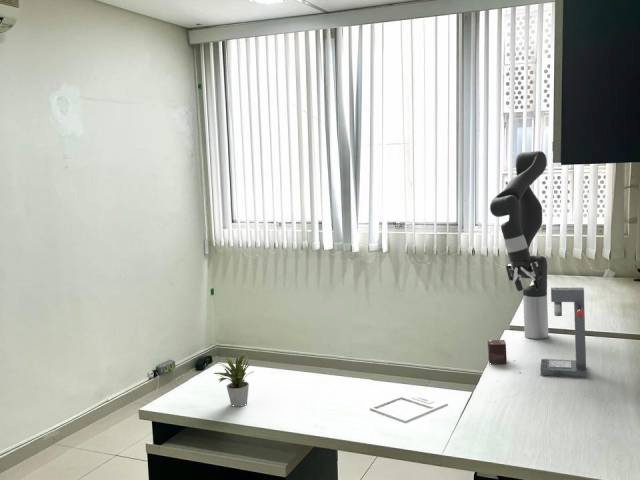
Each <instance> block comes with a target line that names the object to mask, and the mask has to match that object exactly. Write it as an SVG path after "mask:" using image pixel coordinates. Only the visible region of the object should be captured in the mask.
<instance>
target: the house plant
mask: <svg viewBox="0 0 640 480" xmlns="http://www.w3.org/2000/svg"><path fill="white" fill-rule="evenodd" d="M245 354H246V351H244V352H243V353H242V354H241V356H239V355H237V356H236V359H235V365H234V363H233V361H232V360H231V359H229V358H227V357H226V356H224V355H222V358H224V359H225V360H226V362H227V364H228V366H229V367H228V366H226V365H225V364H223V363H221V362H220V363H219V362H217V364H218V365H219V366H221V367H222V366H223V367H224V368H223V369H224V371H225V372H213V374H214V375H219V376H220V378H219V379H218V381H219V382H218V383H219V384H220V383H221V382H223V381H225V380H226V381H229V383H228V384H227V385H226V389H227V394H228V398H229V402H230V406H231V405H234V406H241V405H245V404H246V405H247V404H248V400H249V399H248V398H249V386H250V385H249V381H246V377H247V376H248V375H250V374H252V373H253V371H251V372H249V373H247V374H246V371H247V369H248V368H249V367H250V365H251V364H252V361H251V362H250V363H249V360H250V357H249V358H248V355H246V356H245ZM247 358H248V359H247ZM248 363H249V364H248ZM246 405H245V406H246ZM241 407H242V406H241Z"/></svg>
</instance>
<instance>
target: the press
mask: <svg viewBox="0 0 640 480" xmlns="http://www.w3.org/2000/svg"><path fill="white" fill-rule="evenodd" d="M550 295H551V296H550V299H551V303H553V308H554V310H553V311H554V312H553V313H554V316H555V317H563V303H573V306H574V308H573V310H574V340H575V341H574V342H575V346H574V348H575V359H574V360H571V359H552V358H551V359H549V358H541V360H540V361H541V362H540V369H539V370H540V376H544V377H563V378H565V377H567V378H582V379H583V378H584V379H587V377H588V372H587V355H586V352H587V347H586V318H585V315H586V314H585V313H586V312H585V289H584V287H550Z"/></svg>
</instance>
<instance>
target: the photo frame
mask: <svg viewBox="0 0 640 480" xmlns="http://www.w3.org/2000/svg"><path fill="white" fill-rule="evenodd" d="M400 399H401V400H405V401H407V402H411V403H414V404H416V405H420V406H423V407H427V408H428V409H427V410H425V411H423V412H421V413H418V414H416V415H413V416H411V417H409V418H406V419H405V418H402V417H399V416H397V415H394V414H392V413H388V412H385V411H383V410H381V409H379V408H381V407H384V406H386V405H389V404H391V403H394V402H395V401H399V400H400ZM446 406H448V402H445V401H442V400H438V399H435V398H432V397H429V396H425V395H422V394H420V393H415V392H412V391H410V392H408V393H406V394H403V395H400V396H397V397H395V398H392V399H390V400H387V401H384V402H382V403H379V404H375V405H373V406H371V407H369V410H371V411H372V412H375V413H379V414H382V415H384V416H387V417H390V418H392V419H395V420H398V421H401V422H403V423H408V422H410V421H413V420H416V419H417V418H420V417H422V416H424V415H427V414H429V413H432V412H434V411H436V410H439V409H441V408H443V407H446Z"/></svg>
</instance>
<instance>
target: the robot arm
mask: <svg viewBox="0 0 640 480" xmlns="http://www.w3.org/2000/svg"><path fill="white" fill-rule="evenodd" d="M547 159H548V158H547V156H546V154H545V153H544V152H543V151H542V150H540V151H539V150H534V151H525V152H519V153H518V154H516V158H515V170H516V171H515V172H516V176H514V177H513V178H512V179H511V180H510V181H509V182H508V183H507V185H506V186H505V188H504V190H502V191H501V192H499V193H498V194H497V195H496V196H494V197H493V198H492V200H491V202H490V205H489V210H490V213H491V214H492V216H494V217H497V218H501V217H506V216H508V221H505V222H503V223H502V224H501V225H500V230H501V234H502V236H503V240H504V244H505V245H504V246H505V249H506V252H507V257H508V259H509V262H510V264H507V265H505V269H506V272H507V276H508V277H507V278H508V280H509V281H513V282H514V284H515V288H516V290H517V291H518V292H521V291H522V301H523V303H522V304H523V323H524V325H523V327H524V328H523V329H524V337H525V338H527V339H531V340H532V339H534V340H541V339H547V338H549V314H548V313H549V312H548V310H549V309H548V306H549V305H548V261H547V258H546V257H545V256H544V255H531V253H530V247H531V244H532V242H533V240H534V238H535V237H536V235H537V234H538V232H539V231H540V229H541V227H542V225H543V207H542V206H543V205H542V204H541V202H540V200H539V199H538V197H537V196H536V195H535V193H534V192H533V189H532V188H531V185H532V184H533V183H534V182H535V181H536V180H537V179H539V177H540V176H541V175H543V173H544V172H545V171H546V168H547V163H548V161H547ZM521 278H522V279H532V282H533V283H532V285H528V286H525V287H524V288H523V284H522V280H521Z"/></svg>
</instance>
